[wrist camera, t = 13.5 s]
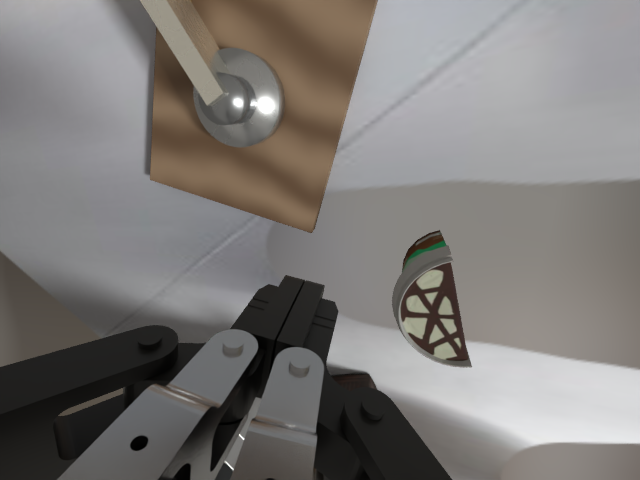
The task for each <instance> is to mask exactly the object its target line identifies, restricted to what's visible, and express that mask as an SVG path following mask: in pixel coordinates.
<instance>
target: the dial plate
mask: <svg viewBox="0 0 640 480" xmlns="http://www.w3.org/2000/svg"><path fill="white" fill-rule="evenodd" d="M190 1H191V3H192V4H193V6H194V8H195V9H196V11H197V12H198V14H199V16H200V17H201V19H202V21H203V22H204V24H205V26H206V27H207V29H208V31H209V32H210V34H211V36H212V37H213V39H214V41H215V42H216V44H217V46H218V47H219V49H220V50H221V49H225V48H239V49H243V50H246V51H249V52H251V53H254V54H256V55H258V56H260V57H262V58H263V59H265V60H266V61H267V62H268V63H269V64H270V65H271V66H272V67H273V68H274V69H275V71H276V72H277V74H278V76H279V78H280V80H281V82H282V85H283V89H284V93H285V111H284V116H283V119H282V122H281V124H280V126H279V128H278V129H277V130H276V132H275V133H274V134H273V135H272V136H271V137H270V138H269V139H267V140H266V141H264V142H262V143H259V144H256V145H252V146H248V147H232V146H229V145H226V144H224V143H222V142H220V141H218V140H217V139H215V138H214V137H213V136H212V135H211V134H210V133H209V132H208V131H207V130H206V129H205V127H204V126H203V124H202V123H201V121H200V119H199V117H198V114H197V112H196V108H195V104H194V97H193V88H194V85H193V83H192V81H191V80H190V78H189V77H188V75H187V74H186V72H185V70H184V69H183V67H182V66H181V64H180V63H179V61H178V60H177V58H176V56H175V55H174V53H173V52H172V50H171V49H170V47H169V45H168V44H167V42H166V41H165V39H164V38H163V36H162V34H161V33H160V31H159V30H158V28H157V27H156V48H155V72H154V97H153V121H152V145H151V169H150V180H152V181H155V182H159V183H162V184H165V185H168V186H171V187H174V188H177V189H180V190H183V191H186V192H189V193H192V194H195V195H198V196H201V197H204V198H207V199H210V200H213V201H216V202H219V203H222V204H225V205H228V206H231V207H234V208H237V209H240V210H243V211H246V212H249V213H252V214H255V215H258V216H261V217H264V218H267V219H270V220H273V221H276V222H279V223H282V224H285V225H288V226H292V227H295V228H298V229H301V230H304V231H307V232H310V233H312V232H313V230H314V229H315V225H316V222H317V218H318V214H319V211H320V207H321V204H322V200H323V196H324V193H325V189H326V186H327V182H328V178H329V175H330V171H331V167H332V164H333V160H334V157H335V153H336V149H337V146H338V142H339V139H340V135H341V131H342V128H343V124H344V121H345V117H346V113H347V110H348V106H349V102H350V99H351V95H352V92H353V88H354V84H355V81H356V77H357V74H358V70H359V66H360V63H361V59H362V56H363V52H364V48H365V45H366V41H367V37H368V34H369V30H370V27H371V23H372V19H373V16H374V12H375V9H376V5H377V1H378V0H190Z"/></svg>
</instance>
